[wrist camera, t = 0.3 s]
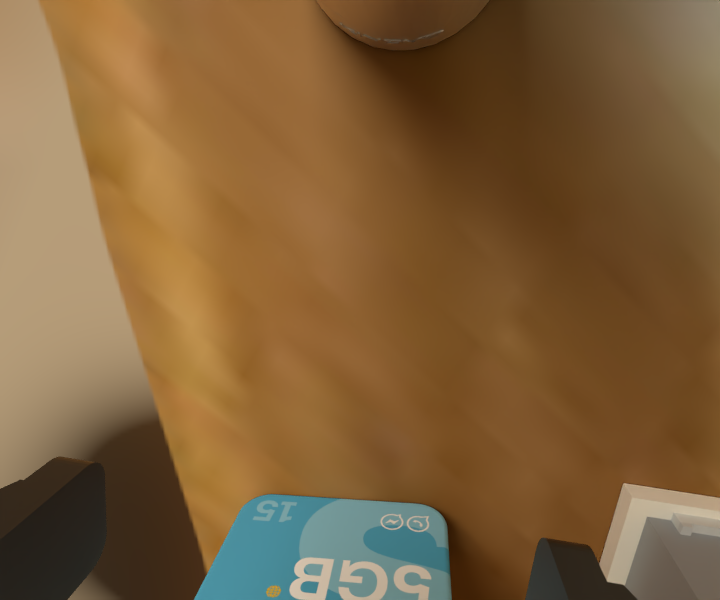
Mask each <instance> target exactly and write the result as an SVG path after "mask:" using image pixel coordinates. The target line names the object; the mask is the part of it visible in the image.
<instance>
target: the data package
mask: <svg viewBox="0 0 720 600" xmlns="http://www.w3.org/2000/svg"><path fill="white" fill-rule="evenodd" d="M194 600H452V595H451V579H450V562H449V546H448V530H447V523H446V521H445V519H444V517H443V516H442V515H441V514H440V513H439V512H438V511H437V510H435V509H434V508H432V507H429V506H427V505H423V504H415V503H400V502H385V501H369V500H354V499H339V498H323V497H308V496H293V495H277V494H268V495H263V496H259V497H257V498H254V499H252V500H251V501H249V502H248V503H246V504H245V505H244V506H243V507H242V509H241V510H240V512H239V514H238V516H237V518H236V520H235V522H234V523H233V525H232V527H231V529H230V531H229V533H228V535H227V537H226V539H225V541H224V543H223V545H222V547H221V549H220V550H219V552H218V554H217V556H216V558H215V560H214V562H213V564H212V566H211V568H210V570H209V572H208V574H207V576H206V577H205V579H204V581H203V583H202V585H201V587H200V589H199V591H198V593H197V595H196V597H195V599H194Z"/></svg>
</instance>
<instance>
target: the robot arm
mask: <svg viewBox="0 0 720 600" xmlns="http://www.w3.org/2000/svg"><path fill="white" fill-rule="evenodd" d="M489 1H490V0H316V2H317V3H318V4H319V6H320V7H321V8H322V10H323V11H324V12H325V13H326V14H327V15H328V17H329V18H330V19H331V20H332V21H333V23H334V24H335V25H337V26H338V27H339V28H340V29H342V30H343V31H344V32H346V33H347V34H348V35H350V36H351V37H352V38H354V39H357V40H359V41H361V42H363V43H365V44H367V45H370V46H372V47H377V48H382V49H387V50H392V51H394V50H415V49H419V48H423V47H426V46H430V45H434V44H437V43H439V42H440V41H442V40H444V39H446V38H448V37H450V36H452V35H454V34H456V33H457V32H458V31H460V30H461V29H462V28H463V27H465V26H466V25H467V24H468V23H469V22H471V21H472V20H473V19H474V18H475V17H476V16H477V15H478V14H479V13H480V11H481V10H482V9H483V8H484V7H485V5H486V4H487V3H488V2H489ZM105 500H106V499H105V472H104V469H103V467H102V465H101V464H100V463H96V462H91V461H84V460H78V459H72V458H65V457H56V458H54V459H52V460H51V461H49V462H48V463H46V464H45V465H44V466H42V467H41V468H40V469H38V470H37V471H36V472H34V473H33V474H32V475H30V476H29V477H28V478H26V479H25V480H19V481H17V482H14V483H12V484H10V485H8V486H5V487H3V488H1V489H0V600H67V599H68V598H69V597H70V596H71V595H72V593H73V592H74V591H75V590H76V589H77V587H78V586H79V585H80V584H81V583H82V582H83V580H84V579H85V578H86V577H87V576H88V574H89V573H90V572H91V571H92V570H93V568H94V567H95V565H96V564H97V561H98V560H99V558H100V556H101V554H102V550H103V548H104V545H105V540H106V501H105ZM525 600H638V599H637V598H636V597H635V596H634V595H633V594H632V593H631V592H630V591H629V590H628V589H627V588H626V587H625V586H624V585H622V584H617V583H611V582H607V580H606V578H605V576H604V574H603V572H602V569H601V567H600V565H599V563H598V561H597V559H596V557H595V555H594V553H593V551H592V549H591V548H590V547H589V546H588V545H584V544H578V543H572V542H566V541H560V540H554V539H548V538H541V539H540V541H539V542H538V545H537V549H536V553H535V558H534V562H533V567H532V571H531V576H530V580H529V585H528V589H527V594H526V599H525Z"/></svg>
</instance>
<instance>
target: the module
mask: <svg viewBox="0 0 720 600" xmlns="http://www.w3.org/2000/svg"><path fill="white" fill-rule="evenodd" d="M625 587H626V588H627V589H628V590H629V591H630V592H631V593H632V594H633V595H634V596H635V597H636V598H637V599H638V600H720V537H718V536H712V535H706V534H699V533H693V532H692V534H691V536H688V535H682V534H680V533H679V532H678V530H677V529H676V527H675V526H674V524H673V523H672V521H671V520H666V519H660V518H653V517H647V518H646V521H645V524H644V528H643V531H642V534H641V537H640V540H639V543H638V546H637V549H636V552H635V555H634V559H633V562H632V565H631V568H630V571H629V574H628V577H627V580H626V583H625Z"/></svg>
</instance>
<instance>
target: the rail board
mask: <svg viewBox="0 0 720 600" xmlns="http://www.w3.org/2000/svg"><path fill="white" fill-rule="evenodd" d="M647 517H653V518H660V519H666V520H671V521H672V523H673V524H674V526H675V527H676V529H677V530H678V532H679V533H680V534H682V535H688V536H691V534H692V532H693V533H699V534H706V535H712V536H718V537H720V498H717V497H711V496H704V495H698V494H691V493H685V492H678V491H672V490H665V489H659V488H652V487H646V486H639V485H633V484H626V483H623V486H622V489H621V493H620V496H619V499H618V503H617V506H616V510H615V513H614V516H613V520H612V523H611V526H610V530H609V533H608V536H607V540H606V543H605V546H604V550H603V553H602V557H601V560H600V563H599V565H600V567H601V569H602V572H603V574H604V576H605V578H606V580H607V582H611V583H617V584H622V585H624V586H625V583H626V580H627V577H628V574H629V571H630V568H631V565H632V562H633V559H634V555H635V552H636V549H637V546H638V543H639V540H640V537H641V534H642V531H643V528H644V524H645V521H646V518H647Z"/></svg>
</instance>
